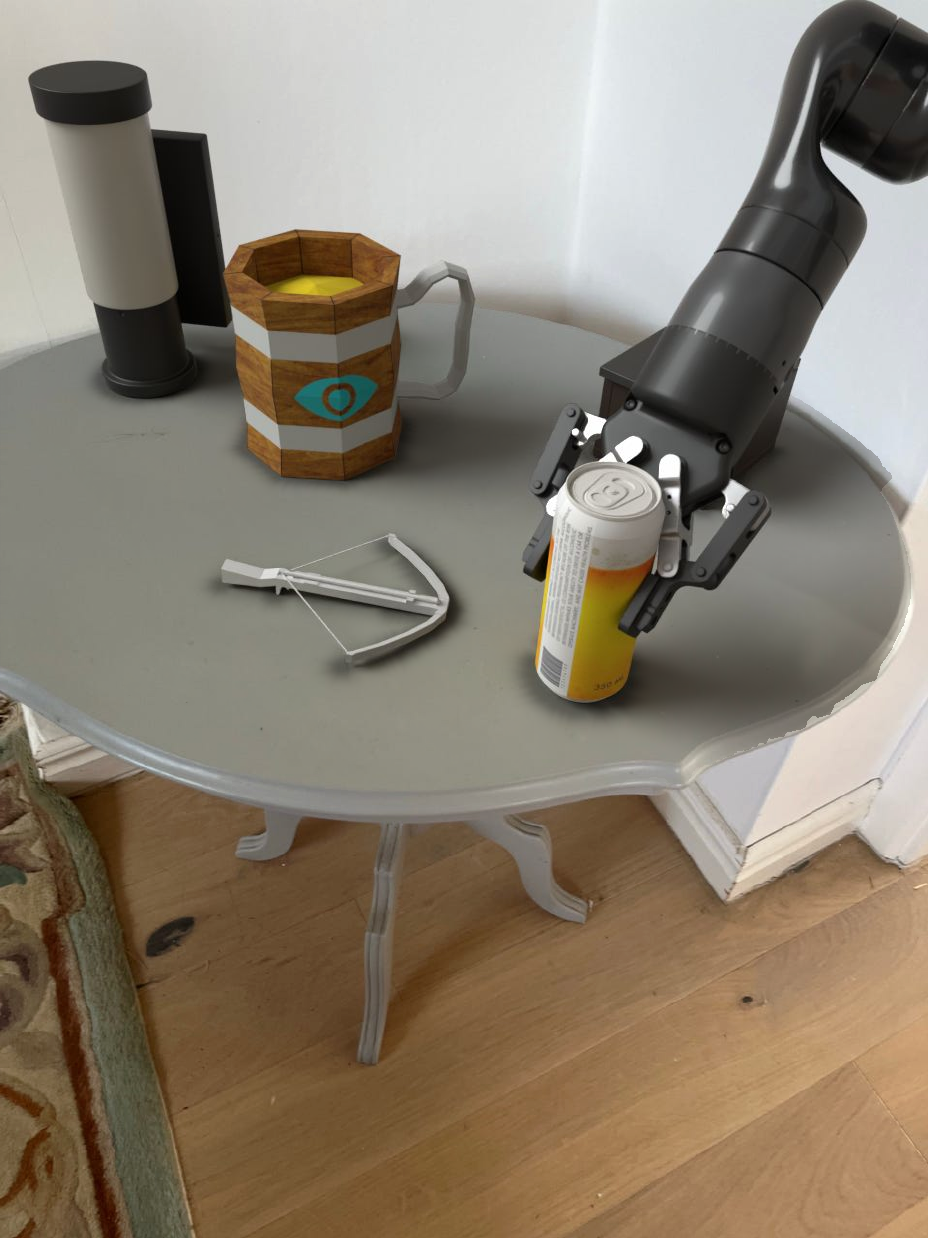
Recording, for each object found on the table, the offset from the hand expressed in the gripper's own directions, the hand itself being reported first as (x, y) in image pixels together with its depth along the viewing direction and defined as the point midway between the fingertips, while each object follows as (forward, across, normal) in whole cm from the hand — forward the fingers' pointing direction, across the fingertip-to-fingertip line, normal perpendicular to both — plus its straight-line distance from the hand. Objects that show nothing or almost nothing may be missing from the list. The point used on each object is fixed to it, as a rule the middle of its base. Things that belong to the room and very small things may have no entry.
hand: (578, 604), depth 57 cm
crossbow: (+8, -17, +2) cm, 19 cm away
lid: (-20, -9, +20) cm, 30 cm away
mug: (-3, -31, +14) cm, 34 cm away
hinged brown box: (-15, -9, +26) cm, 31 cm away
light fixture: (+1, -52, +9) cm, 53 cm away
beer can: (+4, 0, +6) cm, 8 cm away
